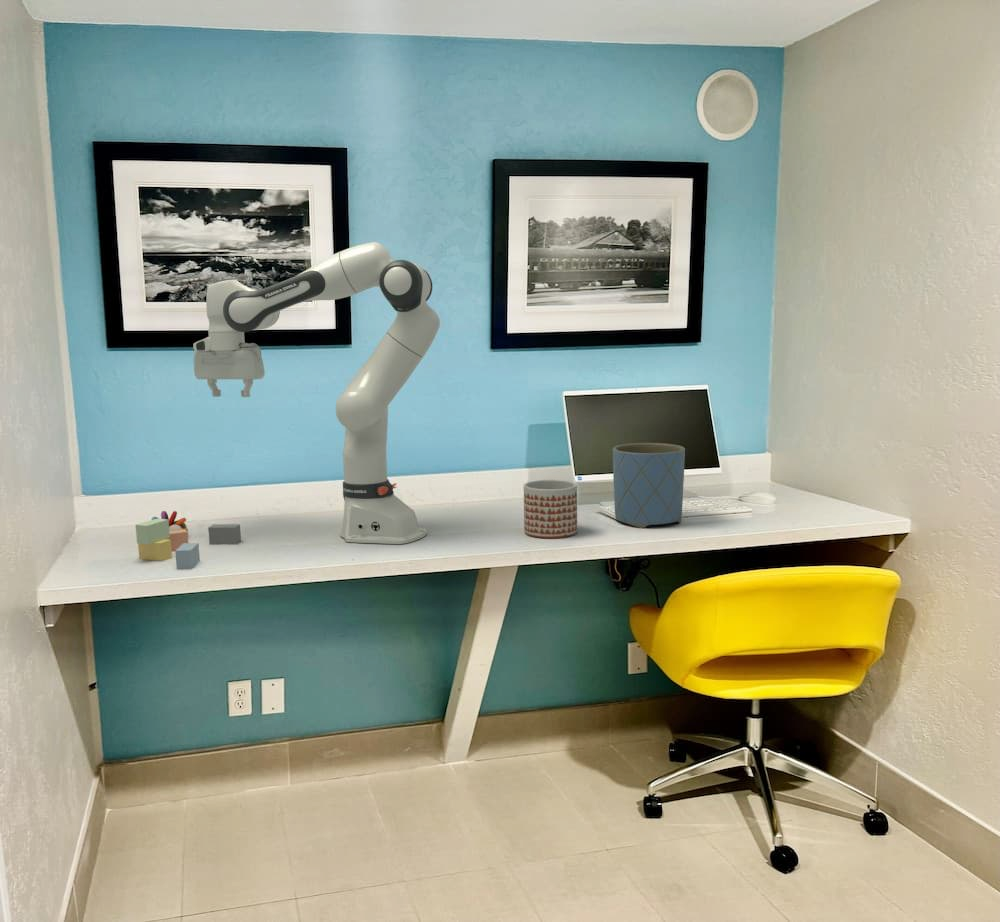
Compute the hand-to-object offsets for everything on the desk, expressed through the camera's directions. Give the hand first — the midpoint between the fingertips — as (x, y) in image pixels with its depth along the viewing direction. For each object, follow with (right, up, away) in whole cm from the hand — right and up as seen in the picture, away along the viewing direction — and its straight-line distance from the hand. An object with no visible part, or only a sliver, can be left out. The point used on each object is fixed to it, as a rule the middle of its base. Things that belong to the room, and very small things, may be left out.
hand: (231, 396), depth 249 cm
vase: (+83, -35, -1) cm, 90 cm away
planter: (+110, -33, +9) cm, 115 cm away
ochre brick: (-13, -40, -19) cm, 46 cm away
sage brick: (-13, -36, -20) cm, 43 cm away
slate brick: (-3, -41, -26) cm, 49 cm away
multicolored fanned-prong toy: (-17, -37, +1) cm, 41 cm away
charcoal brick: (0, -38, -5) cm, 38 cm away
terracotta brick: (-11, -39, -11) cm, 42 cm away
